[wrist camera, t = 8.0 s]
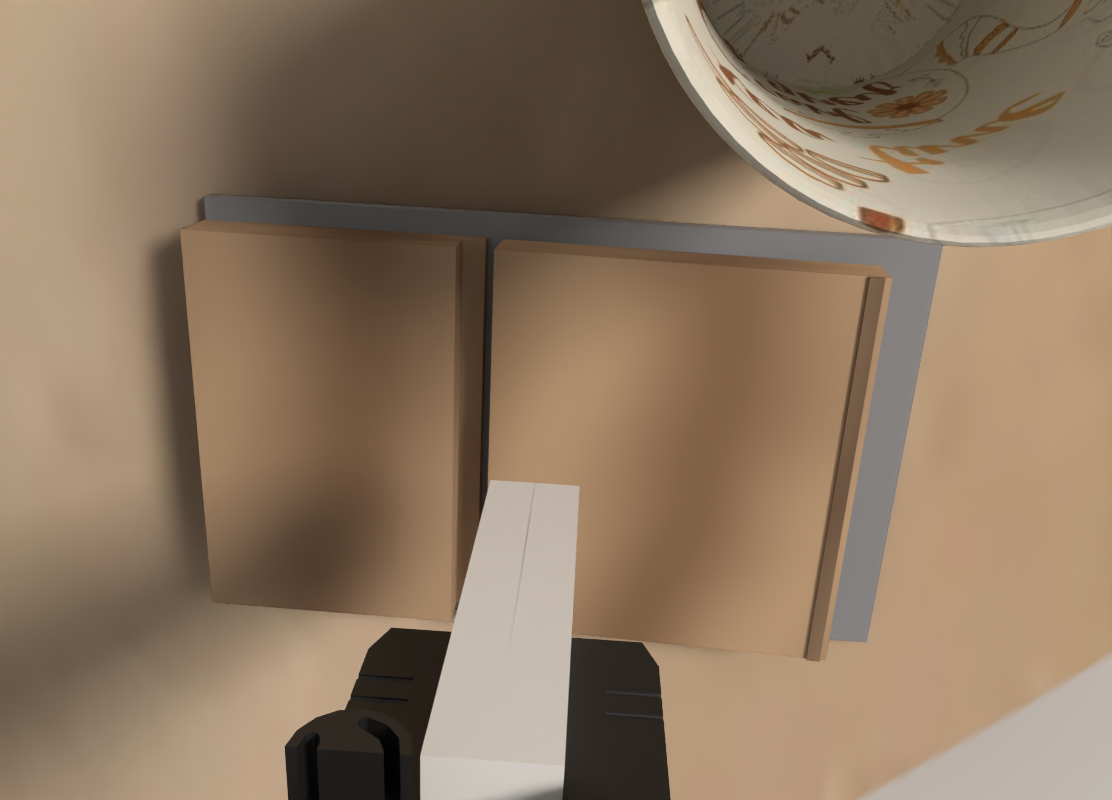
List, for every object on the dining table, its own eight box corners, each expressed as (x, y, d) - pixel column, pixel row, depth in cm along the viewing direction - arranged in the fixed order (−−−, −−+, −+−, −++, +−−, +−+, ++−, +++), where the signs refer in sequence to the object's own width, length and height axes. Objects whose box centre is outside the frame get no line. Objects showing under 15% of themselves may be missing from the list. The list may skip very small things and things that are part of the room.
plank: (492, 597, 24) (483, 625, 23) (503, 238, 21) (493, 250, 20) (818, 631, 23) (826, 662, 22) (880, 265, 20) (893, 279, 19)
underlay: (239, 583, 25) (233, 591, 24) (210, 194, 21) (203, 196, 21) (862, 633, 24) (866, 642, 24) (937, 238, 21) (943, 241, 20)
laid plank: (233, 574, 24) (211, 602, 23) (205, 219, 21) (180, 229, 20) (478, 594, 24) (471, 623, 23) (488, 237, 21) (480, 248, 20)
